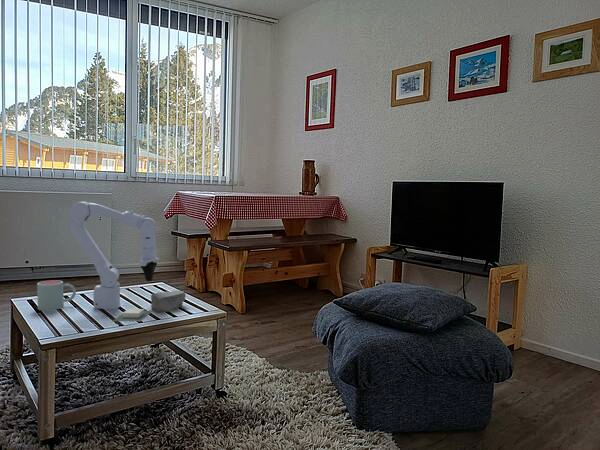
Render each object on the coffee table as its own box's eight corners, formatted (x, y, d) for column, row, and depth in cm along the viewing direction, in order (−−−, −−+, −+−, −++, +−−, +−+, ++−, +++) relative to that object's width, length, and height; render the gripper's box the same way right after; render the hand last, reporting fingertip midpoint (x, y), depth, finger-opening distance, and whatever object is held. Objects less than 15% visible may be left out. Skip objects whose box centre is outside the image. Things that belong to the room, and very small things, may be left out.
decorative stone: (144, 313, 186) (166, 315, 183) (144, 296, 186) (165, 297, 182) (167, 305, 200) (188, 306, 197) (167, 288, 200) (187, 290, 196)
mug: (37, 311, 185) (36, 286, 184) (38, 305, 193) (37, 281, 192) (76, 307, 191) (76, 283, 190) (75, 302, 199) (75, 278, 198)
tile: (128, 313, 183) (122, 317, 177) (128, 308, 182) (122, 313, 177) (144, 313, 183) (138, 318, 177) (144, 309, 182) (138, 313, 176)
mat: (112, 322, 173) (112, 320, 173) (127, 311, 187) (127, 310, 187) (140, 323, 173) (140, 321, 173) (152, 312, 187) (152, 311, 186)
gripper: (152, 250, 187) (153, 284, 188) (163, 245, 202) (164, 277, 203) (134, 250, 187) (135, 284, 189) (146, 245, 202) (147, 276, 203)
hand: (149, 280), depth 196 cm, fingers closed
